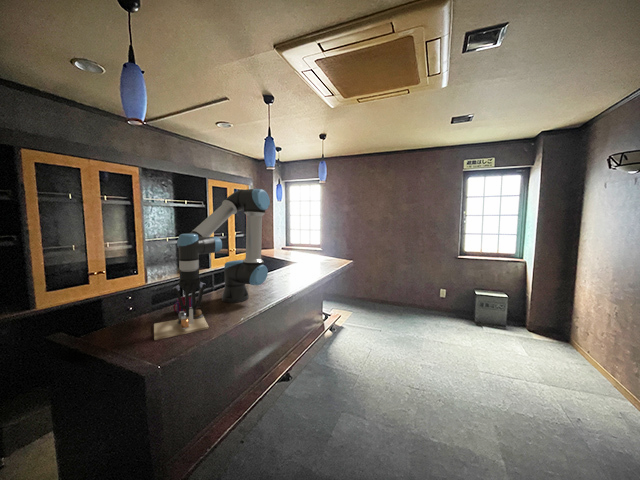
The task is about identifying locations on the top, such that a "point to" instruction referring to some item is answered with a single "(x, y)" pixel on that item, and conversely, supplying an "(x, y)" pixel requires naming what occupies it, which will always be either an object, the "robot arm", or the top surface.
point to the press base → (179, 327)
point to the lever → (183, 320)
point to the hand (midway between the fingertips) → (191, 322)
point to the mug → (183, 304)
